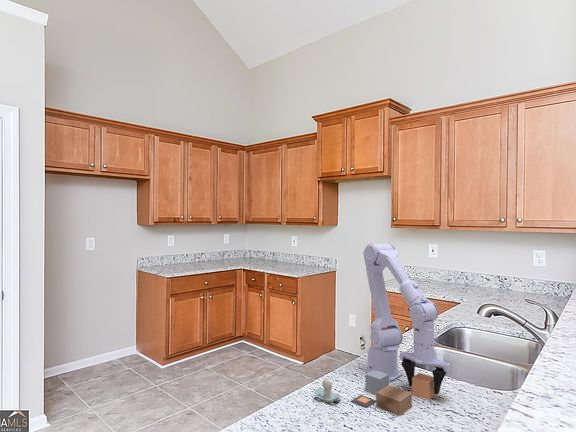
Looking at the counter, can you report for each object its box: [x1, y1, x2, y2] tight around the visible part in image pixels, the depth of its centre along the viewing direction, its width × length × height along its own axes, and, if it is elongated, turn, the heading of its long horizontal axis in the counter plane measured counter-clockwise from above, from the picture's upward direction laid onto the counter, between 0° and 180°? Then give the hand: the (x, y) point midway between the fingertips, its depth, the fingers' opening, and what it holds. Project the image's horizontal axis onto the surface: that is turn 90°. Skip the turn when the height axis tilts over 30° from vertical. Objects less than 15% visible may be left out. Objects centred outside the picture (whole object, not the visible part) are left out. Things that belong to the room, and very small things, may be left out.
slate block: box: [364, 370, 390, 396], centre depth 109 cm, size 5×5×5 cm
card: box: [350, 394, 376, 409], centre depth 101 cm, size 5×5×1 cm
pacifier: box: [314, 378, 342, 403], centre depth 103 cm, size 7×6×6 cm
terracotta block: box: [411, 372, 436, 401], centre depth 107 cm, size 5×5×5 cm
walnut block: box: [375, 384, 413, 417], centre depth 99 cm, size 7×7×4 cm
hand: (423, 389), depth 107 cm, fingers open, 7 cm apart
